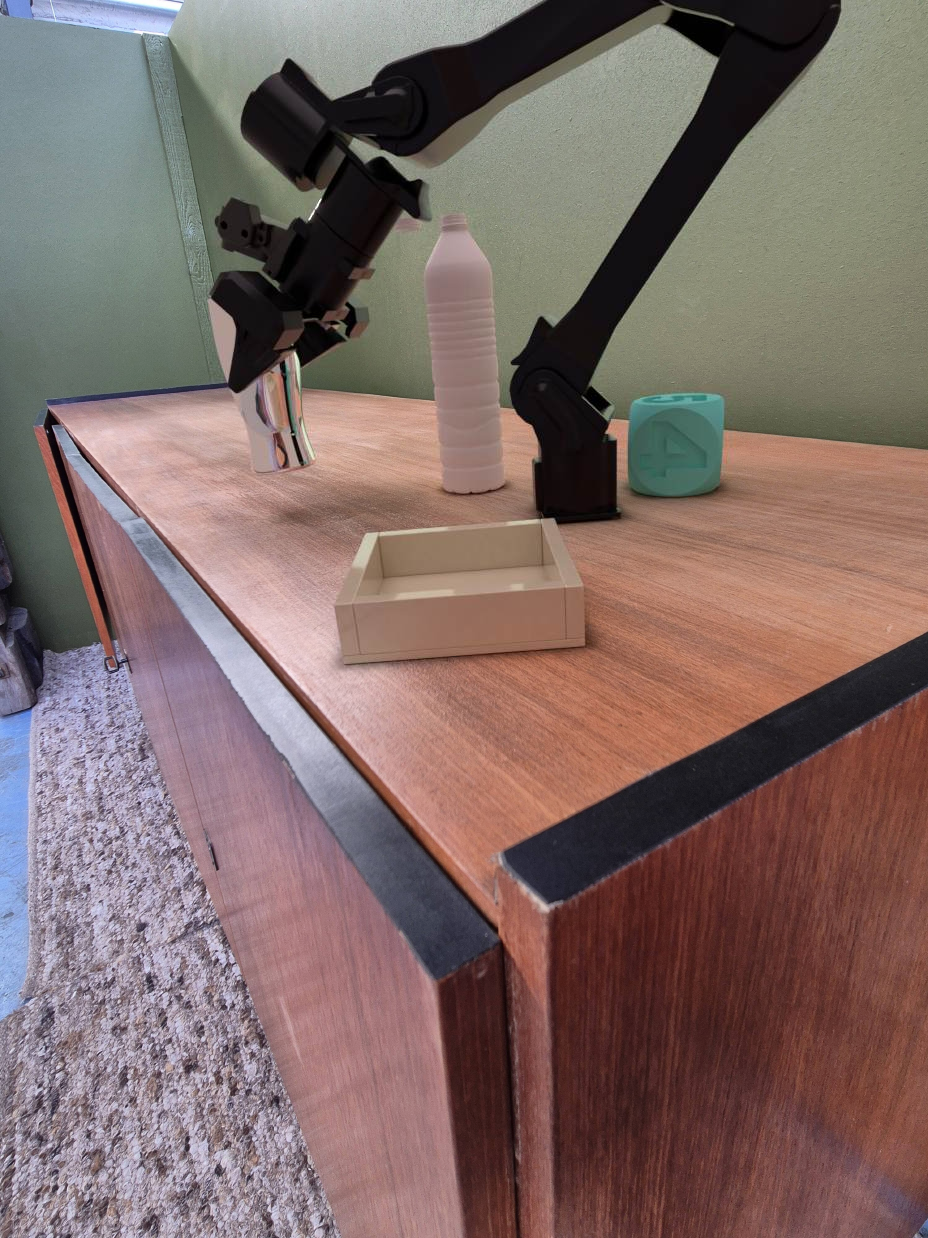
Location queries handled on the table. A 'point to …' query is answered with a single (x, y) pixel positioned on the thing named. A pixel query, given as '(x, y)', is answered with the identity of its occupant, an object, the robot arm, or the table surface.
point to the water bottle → (463, 357)
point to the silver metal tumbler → (268, 406)
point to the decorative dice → (675, 444)
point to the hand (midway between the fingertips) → (253, 385)
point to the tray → (460, 593)
